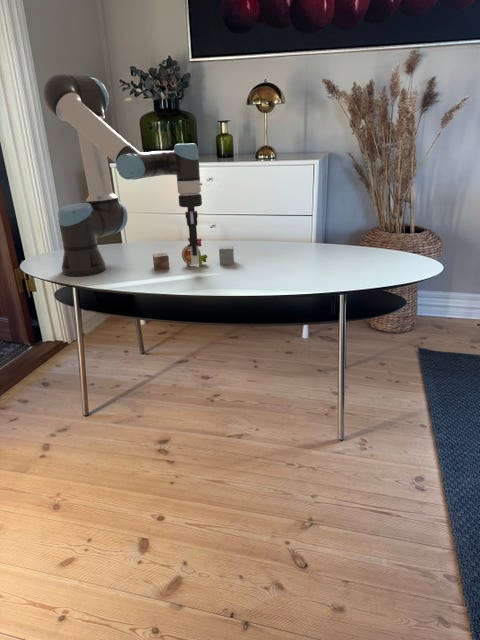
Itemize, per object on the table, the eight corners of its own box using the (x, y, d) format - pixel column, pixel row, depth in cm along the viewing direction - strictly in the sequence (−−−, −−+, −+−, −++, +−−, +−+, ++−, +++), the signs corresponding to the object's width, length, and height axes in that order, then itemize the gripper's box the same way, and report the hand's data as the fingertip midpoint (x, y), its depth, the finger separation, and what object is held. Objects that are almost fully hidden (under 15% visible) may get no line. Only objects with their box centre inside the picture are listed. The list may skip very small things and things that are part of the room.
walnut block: (155, 270, 172) (154, 257, 170) (153, 267, 176) (152, 254, 174) (169, 269, 173) (168, 255, 171) (167, 265, 177) (166, 252, 176)
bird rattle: (186, 273, 174) (208, 264, 171) (172, 246, 171) (194, 235, 168) (191, 269, 180) (212, 259, 177) (177, 242, 177) (198, 232, 174)
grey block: (219, 265, 175) (219, 249, 173) (220, 261, 180) (219, 246, 178) (233, 264, 175) (232, 248, 173) (233, 261, 180) (233, 245, 178)
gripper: (202, 195, 151) (207, 268, 159) (200, 191, 163) (205, 258, 171) (178, 196, 150) (184, 269, 159) (178, 192, 162) (184, 260, 171)
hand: (195, 264), depth 165 cm, fingers closed
